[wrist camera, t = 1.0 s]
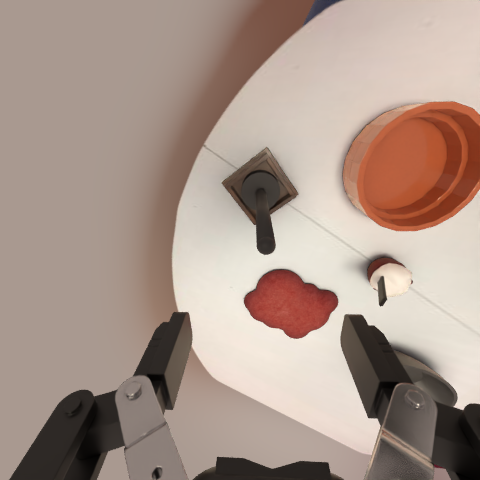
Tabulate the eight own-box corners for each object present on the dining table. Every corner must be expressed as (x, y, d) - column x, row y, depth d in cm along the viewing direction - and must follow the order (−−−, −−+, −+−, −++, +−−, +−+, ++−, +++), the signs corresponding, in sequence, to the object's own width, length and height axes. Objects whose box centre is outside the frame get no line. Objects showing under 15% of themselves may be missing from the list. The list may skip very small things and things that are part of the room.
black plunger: (234, 184, 40) (215, 242, 20) (264, 161, 39) (276, 199, 19) (256, 213, 42) (258, 291, 22) (285, 192, 40) (317, 256, 20)
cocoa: (408, 268, 46) (456, 312, 35) (381, 290, 48) (419, 337, 37) (373, 239, 44) (412, 276, 33) (346, 263, 46) (375, 306, 35)
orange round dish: (322, 155, 39) (335, 160, 33) (431, 78, 34) (468, 67, 28) (370, 234, 44) (388, 251, 38) (470, 177, 39) (509, 186, 33)
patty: (345, 298, 49) (349, 305, 48) (304, 341, 55) (306, 349, 53) (271, 258, 47) (272, 264, 45) (235, 308, 52) (235, 315, 50)
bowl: (373, 328, 52) (387, 352, 47) (451, 365, 56) (474, 392, 50) (337, 362, 57) (347, 388, 51) (412, 395, 60) (428, 423, 55)
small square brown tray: (222, 182, 41) (220, 185, 39) (266, 147, 38) (267, 148, 36) (254, 223, 44) (254, 229, 41) (297, 193, 41) (300, 197, 39)
